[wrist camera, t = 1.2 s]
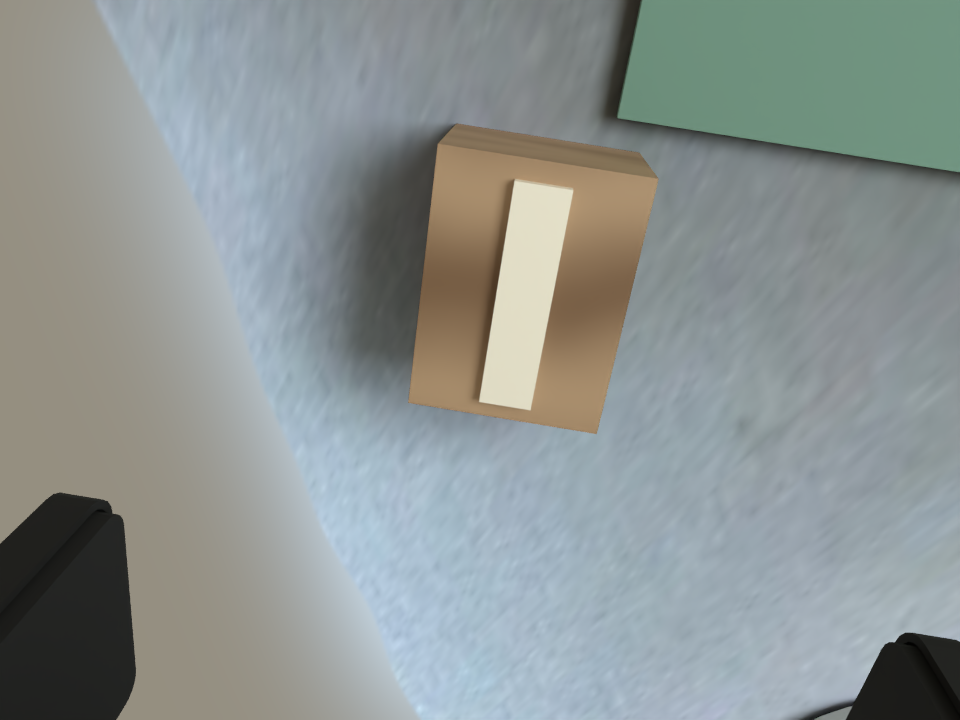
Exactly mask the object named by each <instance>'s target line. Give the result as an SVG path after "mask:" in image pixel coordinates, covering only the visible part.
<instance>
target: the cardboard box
mask: <svg viewBox="0 0 960 720" xmlns="http://www.w3.org/2000/svg"><path fill="white" fill-rule="evenodd" d="M657 183H658V177H657V176H656V175H655V173H654V172H653V171H652V169H651V168H650V167H649V165H648V164H647V162H646V161H645V160H644V158H643V157H642V156H641V154H640V153H638V152H632V151H626V150H619V149H613V148H607V147H600V146H594V145H588V144H582V143H575V142H569V141H563V140H557V139H550V138H544V137H538V136H531V135H525V134H519V133H513V132H506V131H500V130H494V129H487V128H481V127H475V126H469V125H462V124H456V125H455V126H454V127H453V128H452V129H451V130H450V131H449V132H448V133H447V134H446V135H445V136H444V138H443V139H442V140H441V141H440V142H439V143H438V147H437V156H436V164H435V173H434V182H433V191H432V199H431V208H430V217H429V226H428V234H427V243H426V252H425V261H424V269H423V278H422V287H421V296H420V304H419V313H418V322H417V331H416V339H415V348H414V357H413V366H412V375H411V383H410V392H409V401H408V403H413V404H419V405H425V406H431V407H437V408H443V409H449V410H455V411H461V412H467V413H474V414H480V415H486V416H492V417H498V418H504V419H510V420H516V421H522V422H528V423H534V424H540V425H546V426H552V427H558V428H564V429H570V430H576V431H582V432H588V433H594V434H597V430H598V426H599V422H600V418H601V414H602V410H603V406H604V401H605V397H606V393H607V389H608V385H609V381H610V377H611V373H612V369H613V364H614V360H615V356H616V352H617V348H618V344H619V340H620V336H621V332H622V327H623V323H624V319H625V315H626V311H627V307H628V303H629V299H630V294H631V290H632V286H633V282H634V278H635V274H636V270H637V266H638V262H639V257H640V253H641V249H642V245H643V241H644V237H645V233H646V229H647V225H648V220H649V216H650V212H651V208H652V204H653V200H654V196H655V192H656V187H657Z"/></svg>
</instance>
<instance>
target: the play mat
mask: <svg viewBox="0 0 960 720" xmlns="http://www.w3.org/2000/svg"><path fill="white" fill-rule="evenodd" d="M616 117H617V118H620V119H627V120H633V121H639V122H646V123H652V124H658V125H664V126H671V127H677V128H683V129H690V130H696V131H702V132H709V133H715V134H721V135H728V136H734V137H740V138H747V139H753V140H759V141H766V142H772V143H778V144H785V145H791V146H797V147H803V148H810V149H816V150H822V151H829V152H835V153H841V154H848V155H854V156H860V157H867V158H873V159H879V160H886V161H892V162H898V163H905V164H911V165H917V166H924V167H930V168H936V169H942V170H949V171H955V172H960V0H641V2H640V7H639V11H638V16H637V21H636V26H635V30H634V35H633V40H632V44H631V49H630V54H629V59H628V63H627V68H626V73H625V78H624V82H623V87H622V92H621V97H620V101H619V106H618V111H617V116H616Z"/></svg>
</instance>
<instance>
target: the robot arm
mask: <svg viewBox="0 0 960 720" xmlns="http://www.w3.org/2000/svg"><path fill="white" fill-rule="evenodd" d="M135 676H136V667H135V655H134V641H133V629H132V618H131V605H130V593H129V580H128V568H127V557H126V544H125V533H124V523H123V519H122V518H121V516H120V515H117V514H112V509H111V506H110V504H109V503H108V501H105V500H101V499H95V498H89V497H83V496H77V495H71V494H65V493H57V494H53V495H52V496H50V497H49V498H48V499H46V500H45V501H44V502H43V503H42V504H41V505H40V506H39V507H38V508H37V509H36V510H35V511H34V512H33V513H32V514H31V515H30V516H29V517H28V518H27V519H26V520H25V521H24V522H23V523H22V524H20V525H19V526H18V528H16V529H15V530H14V531H13V532H12V533H11V534H10V535H9V536H8V537H7V538H6V539H5V540H4V541H3V542H2V543H1V544H0V720H116V719H117V718H118V716H119V714H120V713H121V711H122V709H123V708H124V706H125V705H126V703H127V701H128V699H129V697H130V694H131V692H132V689H133V685H134V681H135ZM814 720H960V642H959V641H957V640H953V639H947V638H940V637H934V636H928V635H922V634H916V633H904V634H902V635H901V636H899V638H898V639H897V640H896V642H895V643H894V642H889V643H887V644H885V645H884V647H883V648H882V650H881V652H880V653H879V655H878V657H877V659H876V661H875V663H874V665H873V667H872V669H871V671H870V673H869V675H868V677H867V679H866V681H865V683H864V685H863V687H862V689H861V691H860V693H859V694H858V696H857V698H856V700H855V702H854V704H853V706H850V707H846V708H843V709H840V710H837V711H834V712H831V713H828V714H825V715H822V716H820V717H818V718H816V719H814Z"/></svg>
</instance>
